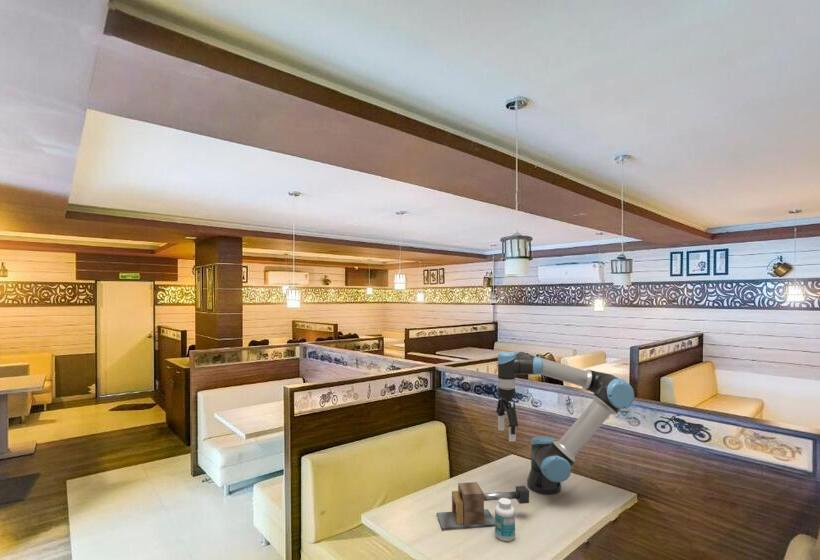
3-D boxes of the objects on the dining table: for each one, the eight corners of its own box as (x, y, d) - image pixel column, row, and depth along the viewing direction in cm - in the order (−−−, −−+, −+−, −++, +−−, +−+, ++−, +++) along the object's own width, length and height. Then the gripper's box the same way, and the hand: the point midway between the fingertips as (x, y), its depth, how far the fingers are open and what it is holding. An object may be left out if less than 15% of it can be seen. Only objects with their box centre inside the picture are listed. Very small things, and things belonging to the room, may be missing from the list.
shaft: (524, 497, 175) (524, 485, 175) (529, 503, 171) (529, 490, 171) (471, 501, 172) (471, 489, 172) (474, 506, 168) (474, 494, 168)
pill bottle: (492, 531, 162) (492, 496, 162) (511, 530, 163) (511, 495, 163) (498, 543, 155) (498, 506, 155) (517, 542, 155) (517, 505, 155)
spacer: (457, 512, 174) (457, 490, 174) (463, 524, 165) (463, 501, 165) (451, 513, 173) (451, 491, 173) (456, 525, 164) (456, 502, 164)
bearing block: (488, 511, 176) (487, 480, 176) (496, 526, 165) (496, 493, 165) (436, 515, 173) (436, 483, 174) (442, 530, 162) (442, 496, 163)
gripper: (489, 381, 198) (489, 426, 197) (508, 395, 173) (508, 446, 173) (504, 380, 199) (504, 425, 198) (525, 394, 174) (526, 445, 174)
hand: (506, 435), depth 185 cm, fingers open, 13 cm apart
